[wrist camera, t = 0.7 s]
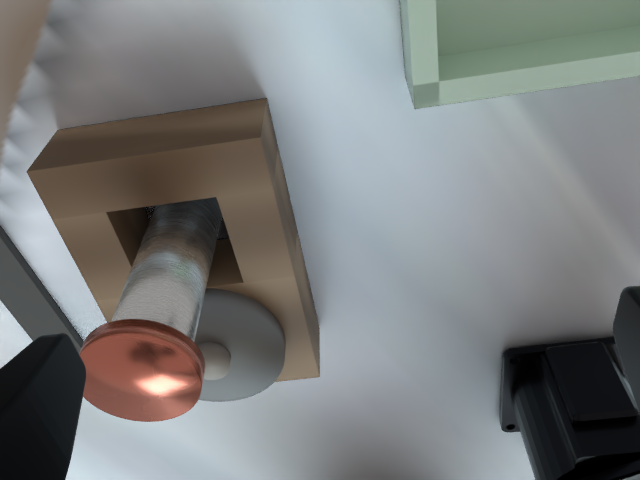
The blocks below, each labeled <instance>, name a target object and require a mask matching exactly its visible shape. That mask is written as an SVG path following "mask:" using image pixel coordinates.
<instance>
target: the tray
mask: <svg viewBox="0 0 640 480" xmlns="http://www.w3.org/2000/svg"><path fill="white" fill-rule="evenodd" d="M399 2H400V15H401V28H402V42H403V55H404V68H405V78H406V82H407V85H408V88H409V92H410V95H411V98H412V102H413V105H414V109H419V108H425V107H432V106H439V105H446V104H453V103H459V102H466V101H473V100H480V99H487V98H493V97H500V96H507V95H514V94H521V93H527V92H534V91H541V90H548V89H555V88H561V87H568V86H575V85H582V84H589V83H595V82H602V81H609V80H616V79H623V78H629V77H636V76H640V0H399Z"/></svg>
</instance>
